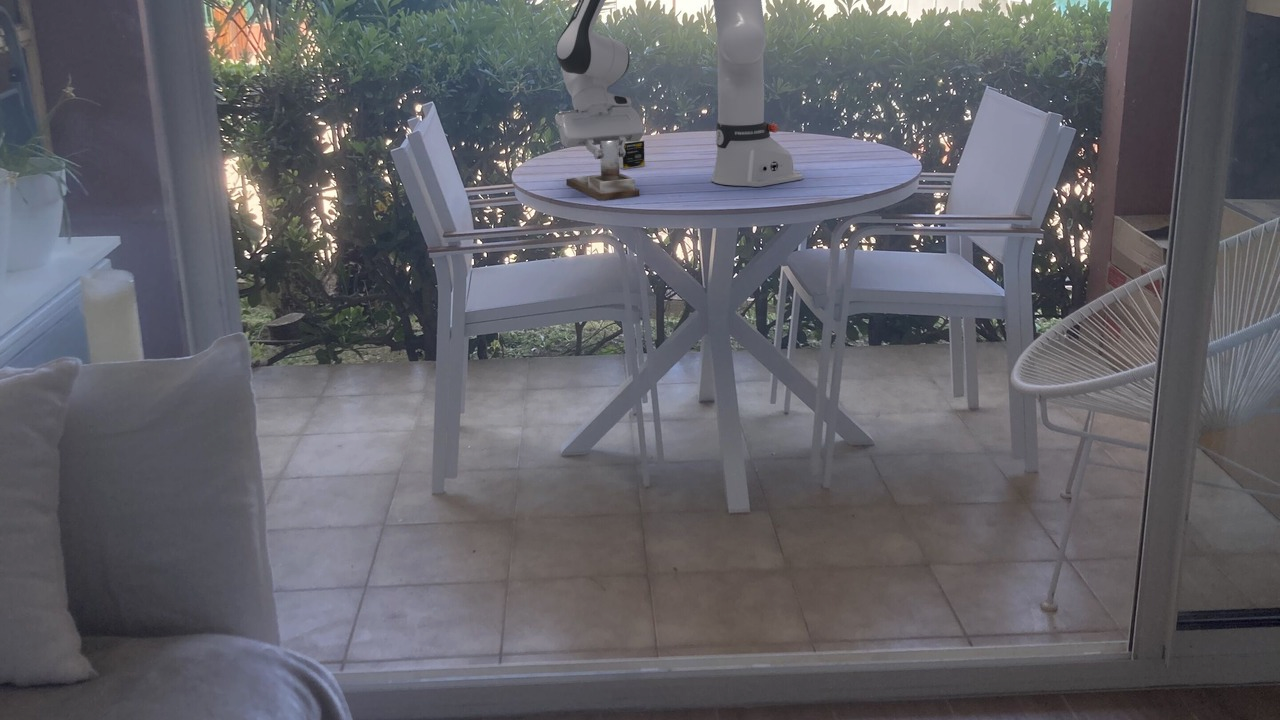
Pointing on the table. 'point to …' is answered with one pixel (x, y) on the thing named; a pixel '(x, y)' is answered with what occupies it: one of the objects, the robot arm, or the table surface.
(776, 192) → the table surface
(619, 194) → the board
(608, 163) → the aluminium barrel nut
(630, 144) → the medicine bottle
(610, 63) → the robot arm
